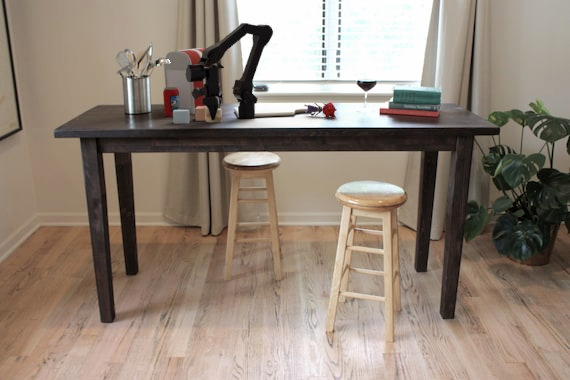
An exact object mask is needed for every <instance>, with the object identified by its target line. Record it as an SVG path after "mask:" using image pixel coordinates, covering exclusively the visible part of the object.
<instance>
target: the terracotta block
mask: <svg viewBox="0 0 570 380" xmlns="http://www.w3.org/2000/svg"><path fill="white" fill-rule="evenodd" d="M206 109H207V107H206V106H197V107H196V108H195V114H194V116H195V121H196V122H197V121H201V122H202V121H206Z"/></svg>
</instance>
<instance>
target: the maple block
mask: <svg viewBox="0 0 570 380" xmlns="http://www.w3.org/2000/svg"><path fill="white" fill-rule="evenodd" d="M222 109H223V108H221V107H220V109H218V110H217V114H216V117H215V120H212V119H211V116H210V112H209V109H206V120H205V121H206V123H222V121H223V112H222V111H223V110H222Z"/></svg>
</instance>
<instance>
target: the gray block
mask: <svg viewBox="0 0 570 380" xmlns="http://www.w3.org/2000/svg"><path fill="white" fill-rule="evenodd" d="M190 115H191V114H190V112H189V110H174V111H173V117H172V119H173V124H189V123H190V122H191V116H190Z"/></svg>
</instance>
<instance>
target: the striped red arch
mask: <svg viewBox="0 0 570 380" xmlns="http://www.w3.org/2000/svg"><path fill="white" fill-rule="evenodd" d="M204 49H205V48H201V47H200V48H199V47H198V48H197V47H196V48H189V49H177V50H176V49H175V50H174V51H169V52H167V53H166V55H165V57H164V60H165V59H169V60H170V62H171V63H170V64H164V63H163V68H164V69H163V70H164V72H163V73H164V84H165V87H164V88H167V87H177V89H178V91H179V98H180V110H189V112H190V115H195V108H196V107H197V106H205V105H204V104H202V99H203V98H204V95H203V96H201V97H198V98H197V99H194V97H193V96H192V93H191V92H192V91H193V89H195V88H198V89H199V88H201V87H204V84H205V79H203V81H197V82H188V81H187V79H186V69H187V65H188V64H191V65H196V64H198V62H199V60H200V59H201V57H202V52H203V51H204ZM215 64H216V63H215ZM212 65H214V64H212ZM204 68H205V67H204ZM207 109H208V107H207Z"/></svg>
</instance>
